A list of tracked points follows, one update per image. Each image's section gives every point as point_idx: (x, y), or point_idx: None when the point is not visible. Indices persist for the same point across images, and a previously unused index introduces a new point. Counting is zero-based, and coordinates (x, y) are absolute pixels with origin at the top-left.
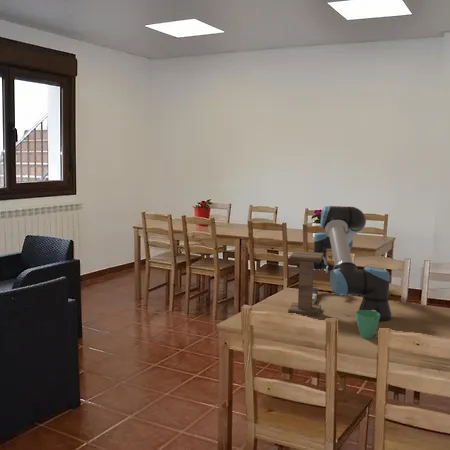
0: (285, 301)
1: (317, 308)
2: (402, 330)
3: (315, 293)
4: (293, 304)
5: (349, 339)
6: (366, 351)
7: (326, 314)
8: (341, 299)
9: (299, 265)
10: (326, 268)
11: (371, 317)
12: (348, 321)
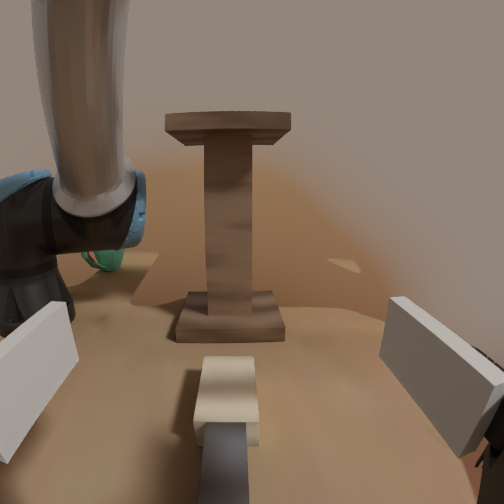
0: (341, 373)
1: (189, 309)
2: None
3: (204, 444)
4: (275, 316)
5: (142, 262)
6: (131, 251)
7: (163, 316)
8: (43, 464)
9: (485, 355)
10: (60, 308)
11: None
12: (116, 297)
